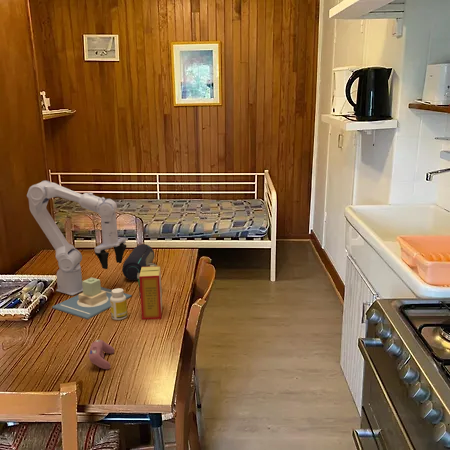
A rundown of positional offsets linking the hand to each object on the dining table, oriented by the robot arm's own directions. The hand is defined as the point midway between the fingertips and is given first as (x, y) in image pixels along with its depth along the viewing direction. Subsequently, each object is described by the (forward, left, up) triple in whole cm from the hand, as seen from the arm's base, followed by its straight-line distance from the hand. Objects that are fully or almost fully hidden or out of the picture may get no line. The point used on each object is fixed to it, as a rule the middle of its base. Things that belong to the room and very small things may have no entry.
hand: (112, 265), depth 182 cm
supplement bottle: (+18, -16, -11) cm, 26 cm away
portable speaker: (-5, +21, -11) cm, 24 cm away
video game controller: (+34, -40, -11) cm, 53 cm away
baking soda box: (+26, -8, -11) cm, 29 cm away
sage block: (+1, -12, -7) cm, 14 cm away
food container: (+14, +6, -11) cm, 19 cm away
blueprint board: (+1, -12, -10) cm, 16 cm away
